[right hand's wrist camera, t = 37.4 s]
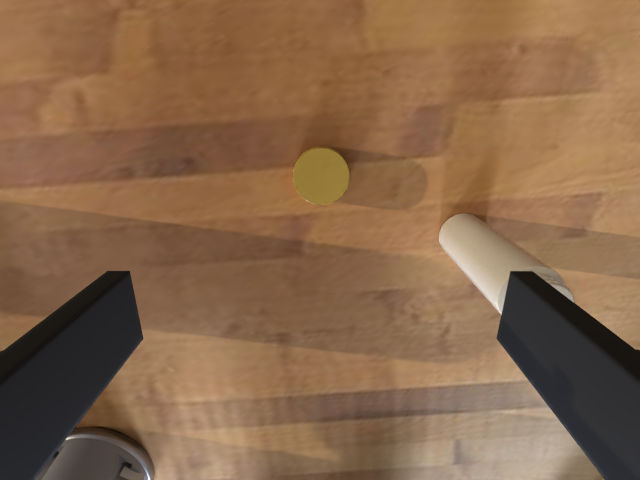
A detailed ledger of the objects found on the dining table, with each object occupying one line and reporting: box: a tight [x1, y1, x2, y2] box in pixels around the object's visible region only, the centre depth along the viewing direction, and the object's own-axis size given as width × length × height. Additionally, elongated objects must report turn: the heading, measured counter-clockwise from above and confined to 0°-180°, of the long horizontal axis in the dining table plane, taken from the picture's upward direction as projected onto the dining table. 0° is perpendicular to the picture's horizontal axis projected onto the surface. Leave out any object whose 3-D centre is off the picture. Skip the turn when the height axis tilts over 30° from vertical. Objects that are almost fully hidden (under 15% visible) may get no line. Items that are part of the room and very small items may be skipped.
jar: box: [439, 213, 575, 315], centre depth 32 cm, size 5×5×16 cm
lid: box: [292, 145, 350, 205], centre depth 36 cm, size 6×6×2 cm
